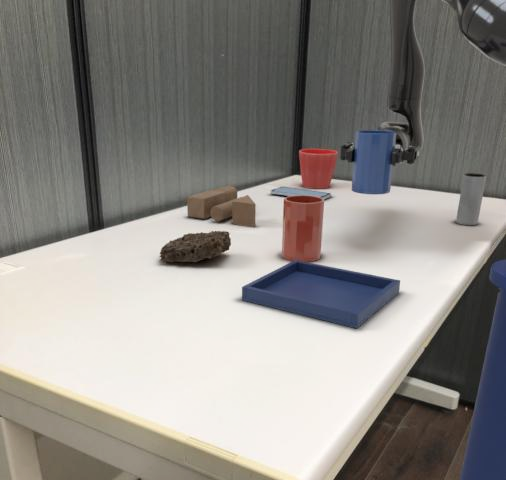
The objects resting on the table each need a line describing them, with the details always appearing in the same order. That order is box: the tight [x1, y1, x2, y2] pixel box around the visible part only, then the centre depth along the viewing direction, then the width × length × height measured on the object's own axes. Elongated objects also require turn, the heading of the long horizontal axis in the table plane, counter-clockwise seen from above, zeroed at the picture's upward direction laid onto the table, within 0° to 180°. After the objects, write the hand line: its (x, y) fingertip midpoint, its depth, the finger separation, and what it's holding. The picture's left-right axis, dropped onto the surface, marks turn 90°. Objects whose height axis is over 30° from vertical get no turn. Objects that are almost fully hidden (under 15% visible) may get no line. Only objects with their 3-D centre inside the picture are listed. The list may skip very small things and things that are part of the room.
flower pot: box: [298, 148, 339, 190], centre depth 161 cm, size 11×11×10 cm
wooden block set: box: [186, 185, 257, 228], centre depth 128 cm, size 17×6×18 cm
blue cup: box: [351, 129, 396, 195], centre depth 100 cm, size 7×7×10 cm
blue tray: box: [241, 260, 401, 329], centre depth 82 cm, size 18×16×2 cm
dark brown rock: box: [159, 230, 232, 263], centre depth 97 cm, size 12×10×5 cm
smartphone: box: [270, 186, 332, 200], centre depth 150 cm, size 7×1×15 cm
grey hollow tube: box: [455, 172, 487, 226], centre depth 123 cm, size 4×4×10 cm
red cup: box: [281, 195, 325, 263], centre depth 99 cm, size 7×7×10 cm
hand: (371, 157), depth 98 cm, fingers closed on blue cup, 7 cm apart
